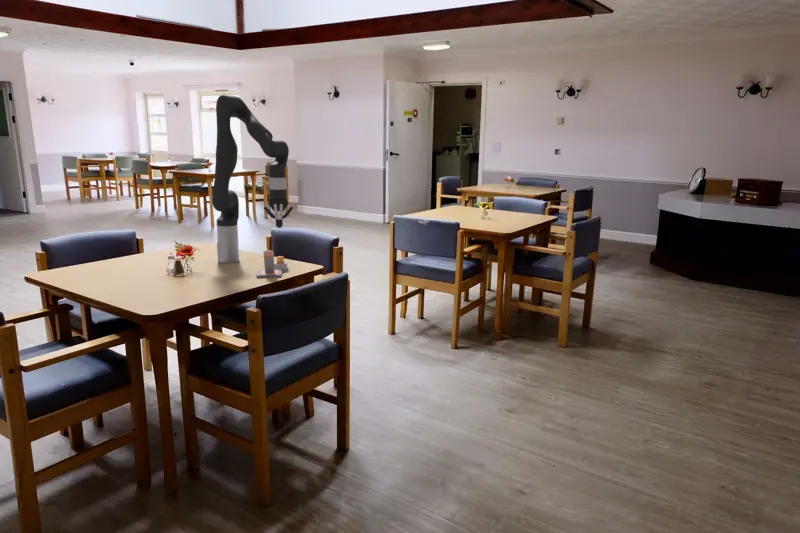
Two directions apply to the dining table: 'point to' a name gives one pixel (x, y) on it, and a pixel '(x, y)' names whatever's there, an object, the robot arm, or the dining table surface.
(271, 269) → the grey upright block
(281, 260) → the button
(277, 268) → the button housing
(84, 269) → the dining table surface
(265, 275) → the picture board
